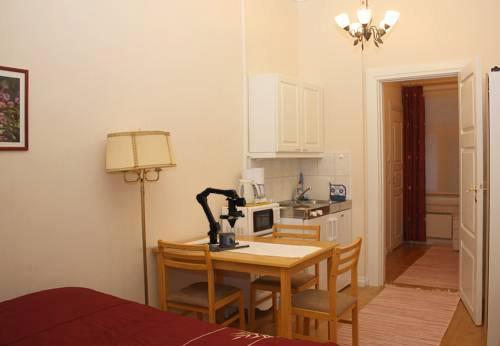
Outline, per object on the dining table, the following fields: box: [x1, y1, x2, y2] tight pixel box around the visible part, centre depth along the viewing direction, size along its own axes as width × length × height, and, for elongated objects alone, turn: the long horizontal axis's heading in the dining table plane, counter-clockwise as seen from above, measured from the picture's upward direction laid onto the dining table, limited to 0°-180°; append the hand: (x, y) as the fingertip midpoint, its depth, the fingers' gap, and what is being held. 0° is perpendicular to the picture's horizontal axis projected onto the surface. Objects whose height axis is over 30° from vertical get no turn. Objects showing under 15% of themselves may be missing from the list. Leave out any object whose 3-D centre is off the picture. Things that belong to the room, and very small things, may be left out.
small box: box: [218, 231, 236, 249], centre depth 329 cm, size 11×6×10 cm, turn 108°
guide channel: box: [207, 241, 250, 253], centre depth 330 cm, size 15×27×3 cm, turn 124°
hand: (232, 227), depth 343 cm, fingers closed
